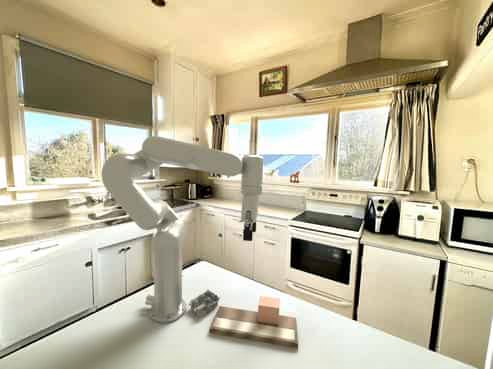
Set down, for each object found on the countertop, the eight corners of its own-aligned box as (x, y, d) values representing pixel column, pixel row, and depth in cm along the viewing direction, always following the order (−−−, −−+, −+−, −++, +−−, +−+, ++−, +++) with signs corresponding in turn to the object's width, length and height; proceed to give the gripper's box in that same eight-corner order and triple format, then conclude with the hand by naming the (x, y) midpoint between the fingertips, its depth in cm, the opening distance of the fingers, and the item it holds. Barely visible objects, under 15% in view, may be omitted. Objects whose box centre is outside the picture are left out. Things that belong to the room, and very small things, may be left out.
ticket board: (209, 332, 69) (209, 326, 69) (219, 309, 80) (219, 304, 79) (297, 348, 64) (298, 341, 64) (295, 321, 75) (296, 315, 75)
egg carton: (200, 320, 74) (200, 309, 74) (186, 310, 79) (186, 300, 79) (221, 304, 83) (221, 295, 82) (208, 296, 87) (208, 287, 87)
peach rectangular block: (257, 321, 72) (258, 305, 71) (259, 311, 77) (259, 295, 76) (278, 324, 71) (279, 308, 70) (278, 314, 76) (279, 298, 75)
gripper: (245, 186, 86) (244, 228, 88) (236, 192, 69) (234, 243, 71) (264, 187, 85) (262, 229, 86) (259, 193, 68) (257, 245, 69)
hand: (249, 235), depth 78 cm, fingers open, 9 cm apart
